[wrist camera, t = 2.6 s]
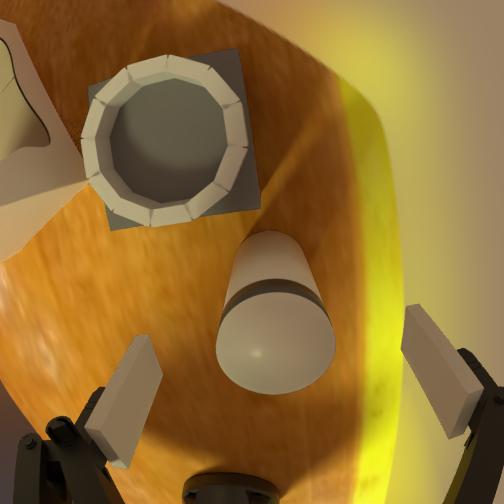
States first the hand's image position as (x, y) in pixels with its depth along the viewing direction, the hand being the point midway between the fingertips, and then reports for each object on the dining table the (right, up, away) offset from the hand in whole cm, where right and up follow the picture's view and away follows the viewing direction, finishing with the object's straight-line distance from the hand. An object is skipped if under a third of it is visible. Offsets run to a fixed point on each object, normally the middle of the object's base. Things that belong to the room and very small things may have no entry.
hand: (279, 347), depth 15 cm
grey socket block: (-6, +13, +8) cm, 17 cm away
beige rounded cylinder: (0, +4, +11) cm, 12 cm away
